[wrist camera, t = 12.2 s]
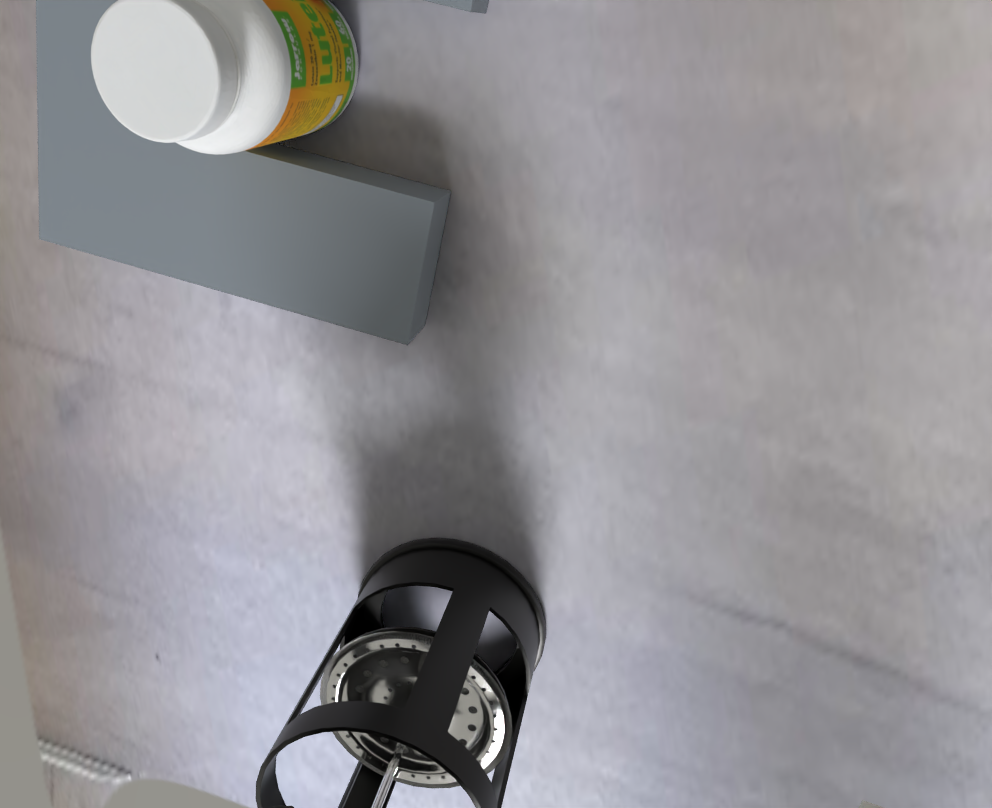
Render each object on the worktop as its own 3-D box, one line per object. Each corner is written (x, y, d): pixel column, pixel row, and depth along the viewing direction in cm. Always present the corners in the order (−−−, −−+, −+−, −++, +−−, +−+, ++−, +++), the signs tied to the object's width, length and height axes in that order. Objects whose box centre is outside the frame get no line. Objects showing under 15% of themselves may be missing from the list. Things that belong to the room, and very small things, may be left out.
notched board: (522, -174, 28) (508, -192, 26) (424, 325, 36) (407, 344, 34) (81, -274, 30) (31, -299, 28) (77, 226, 37) (39, 238, 35)
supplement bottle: (389, 82, 32) (280, 100, 24) (286, 160, 34) (150, 203, 26) (305, -50, 31) (157, -82, 22) (202, 38, 33) (30, 40, 24)
